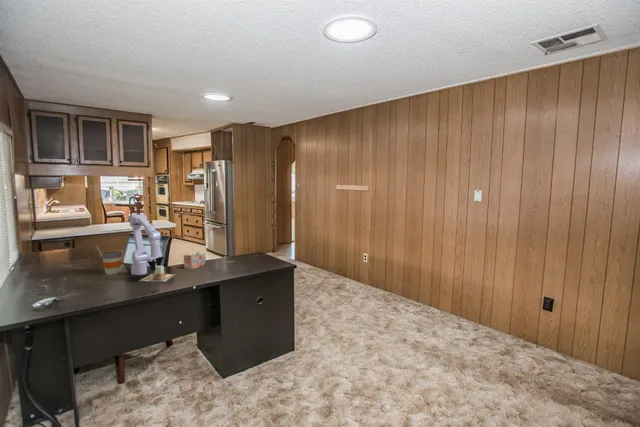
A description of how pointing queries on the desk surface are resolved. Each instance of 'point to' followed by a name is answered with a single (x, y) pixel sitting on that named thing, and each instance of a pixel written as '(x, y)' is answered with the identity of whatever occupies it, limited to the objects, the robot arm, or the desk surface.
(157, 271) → the sage block
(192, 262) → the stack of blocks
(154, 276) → the oak block
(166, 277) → the baseplate
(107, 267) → the reusable coffee cup
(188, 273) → the desk surface
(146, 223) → the robot arm
